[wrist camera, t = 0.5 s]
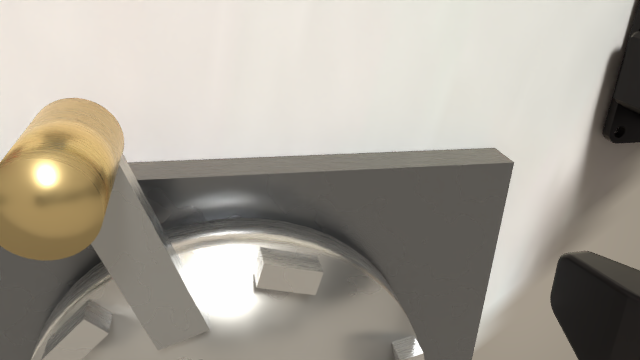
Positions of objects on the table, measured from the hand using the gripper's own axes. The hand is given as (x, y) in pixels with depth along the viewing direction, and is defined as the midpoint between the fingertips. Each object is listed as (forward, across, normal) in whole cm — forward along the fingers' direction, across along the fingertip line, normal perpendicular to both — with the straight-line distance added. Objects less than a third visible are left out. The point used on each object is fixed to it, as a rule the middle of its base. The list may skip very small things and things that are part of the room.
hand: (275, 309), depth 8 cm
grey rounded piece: (+11, +1, +9) cm, 14 cm away
